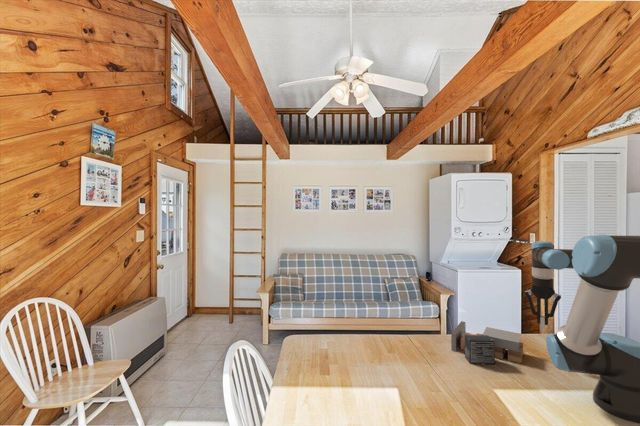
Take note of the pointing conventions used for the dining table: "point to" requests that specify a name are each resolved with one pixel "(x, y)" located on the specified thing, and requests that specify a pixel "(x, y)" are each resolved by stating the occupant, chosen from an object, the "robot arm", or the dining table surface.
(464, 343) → the block
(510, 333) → the slab
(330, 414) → the dining table surface
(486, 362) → the small box
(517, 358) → the bed
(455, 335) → the bar
